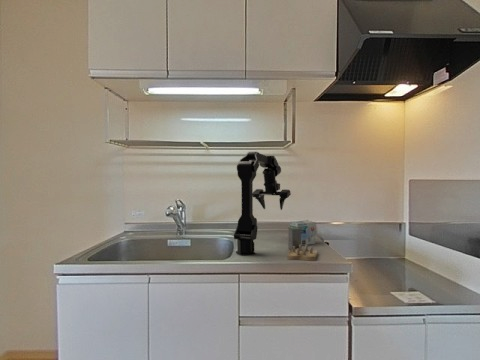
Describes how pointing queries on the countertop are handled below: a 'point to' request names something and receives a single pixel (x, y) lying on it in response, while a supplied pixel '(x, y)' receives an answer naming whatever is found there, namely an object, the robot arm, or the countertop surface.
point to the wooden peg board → (302, 253)
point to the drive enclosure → (294, 237)
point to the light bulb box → (305, 231)
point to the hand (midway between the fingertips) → (272, 209)
